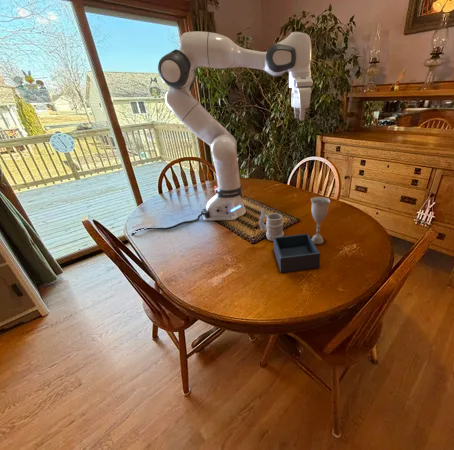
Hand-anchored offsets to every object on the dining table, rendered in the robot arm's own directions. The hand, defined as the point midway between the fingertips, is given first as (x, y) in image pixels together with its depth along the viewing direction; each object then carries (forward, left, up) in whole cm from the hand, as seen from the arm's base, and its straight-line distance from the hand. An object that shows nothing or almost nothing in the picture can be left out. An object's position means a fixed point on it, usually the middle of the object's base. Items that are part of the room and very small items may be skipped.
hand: (299, 119), depth 103 cm
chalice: (0, -30, -44) cm, 53 cm away
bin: (-12, -40, -44) cm, 61 cm away
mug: (-18, -22, -44) cm, 52 cm away
